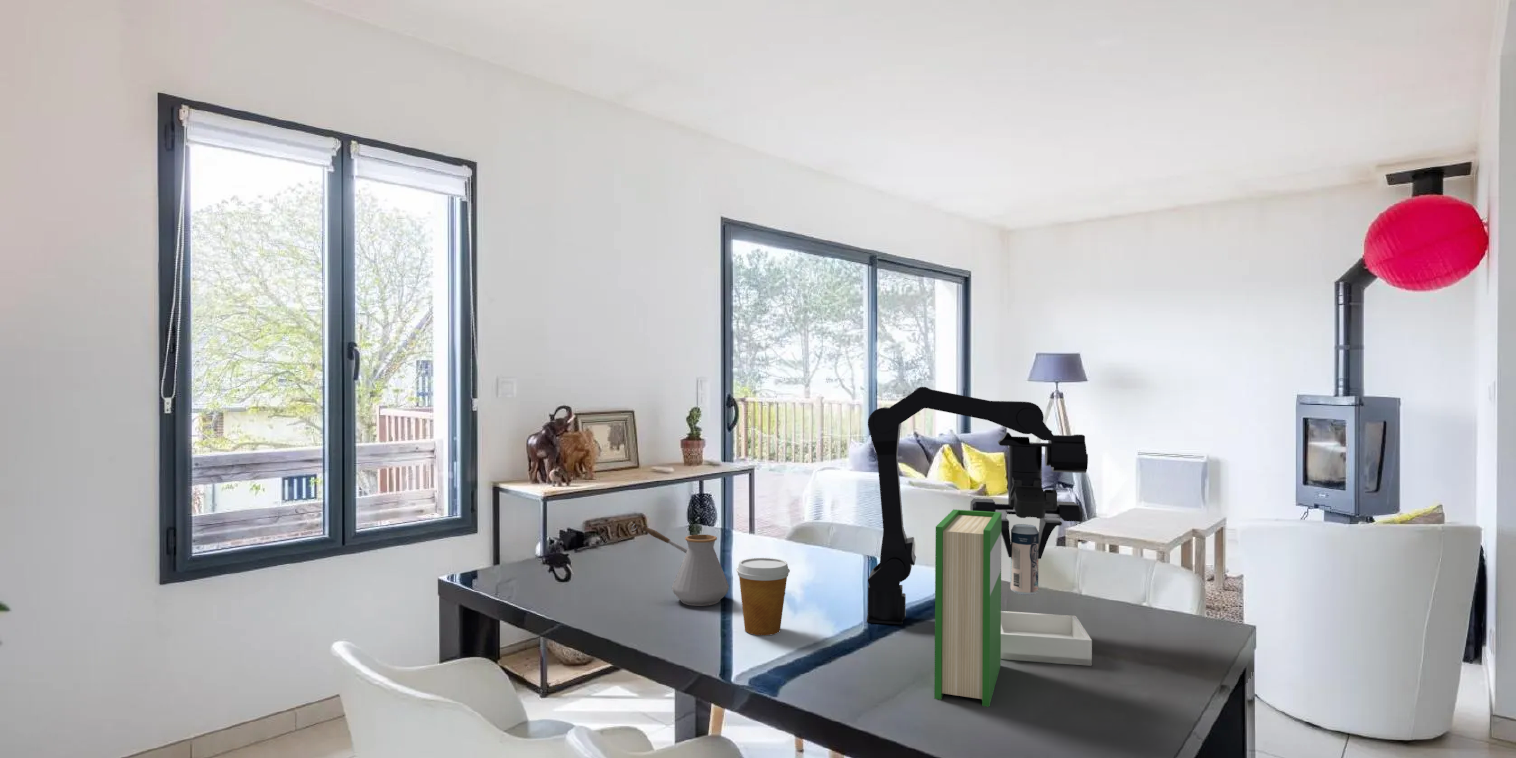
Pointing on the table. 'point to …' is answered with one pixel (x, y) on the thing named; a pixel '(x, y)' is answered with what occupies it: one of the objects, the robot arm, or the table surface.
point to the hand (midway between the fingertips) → (1024, 557)
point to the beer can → (1024, 559)
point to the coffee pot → (696, 570)
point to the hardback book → (968, 604)
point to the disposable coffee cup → (762, 593)
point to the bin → (1044, 638)
